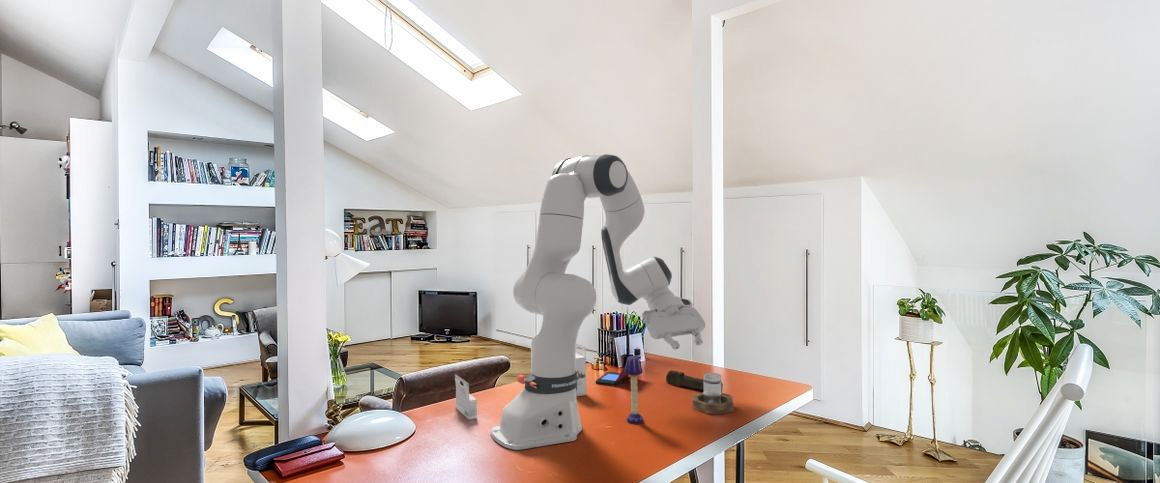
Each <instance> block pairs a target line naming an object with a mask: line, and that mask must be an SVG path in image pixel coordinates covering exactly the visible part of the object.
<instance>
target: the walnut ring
mask: <svg viewBox="0 0 1160 483" xmlns="http://www.w3.org/2000/svg"><path fill="white" fill-rule="evenodd" d="M733 400H734V399H733V397H732V396H729V395H725V394H723V393H721V403H720V404H716V403H706V402H704V391H703V392H699V393H696V394H692V409H693V410H695V411H697V412H701V413H702V414H711V415H712V414H713V415H725V414H728V413H731V412H732V413H733V412H734V401H733Z"/></svg>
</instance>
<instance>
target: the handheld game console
mask: <svg viewBox="0 0 1160 483" xmlns="http://www.w3.org/2000/svg"><path fill="white" fill-rule="evenodd" d="M625 366H626V364H625ZM625 366H624V367H623V368H622V370H621V372H614V371H607V372H606V373H605V374H603V375H602V376H600V377H598V379H596V380H595V384H596V385H601V386H609V387H618V386H619V385H620V384H621V382H623V381H625V380H627V379H628V378H629V375H628V374H626V373H625Z"/></svg>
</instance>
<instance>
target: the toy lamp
mask: <svg viewBox="0 0 1160 483" xmlns="http://www.w3.org/2000/svg"><path fill="white" fill-rule="evenodd" d="M626 358H627V359H626V363H625V365H626V366H624V367H625V373H626V374H628V376H630V390H631V391H630V400H631V404H630V406H631V413H630V414H629V413H628V416H627V417H626V422H628V423H629V424H634V425H638V424H641V423H643V422H644V418H643V416H642V415H641V414H640V413H639V408H638V407H639V398H638V396H639V392H638V387H639V386H638V376H639V375H641V374H643V367H642V364H641V360H640V358H639V356H636V355H631V356H628V357H626Z"/></svg>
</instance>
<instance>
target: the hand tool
mask: <svg viewBox="0 0 1160 483" xmlns="http://www.w3.org/2000/svg"><path fill="white" fill-rule="evenodd" d="M665 381H666V383H667V384H669V385H671V386H675V387H677V388H679V387H687V388H690V389H695V390H699V391H703V392H704V381H703V379H702V378H698V377H694V376H693V377H692V376H690V375H685V372H682V371H677V370H672V369H671V370H669V371H668V372H667V373H666V377H665ZM723 385H724V384H723V383H722V382H721V394H723V393H722V392H723Z"/></svg>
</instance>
